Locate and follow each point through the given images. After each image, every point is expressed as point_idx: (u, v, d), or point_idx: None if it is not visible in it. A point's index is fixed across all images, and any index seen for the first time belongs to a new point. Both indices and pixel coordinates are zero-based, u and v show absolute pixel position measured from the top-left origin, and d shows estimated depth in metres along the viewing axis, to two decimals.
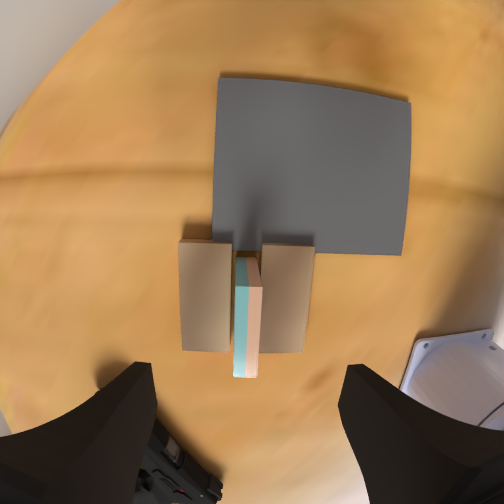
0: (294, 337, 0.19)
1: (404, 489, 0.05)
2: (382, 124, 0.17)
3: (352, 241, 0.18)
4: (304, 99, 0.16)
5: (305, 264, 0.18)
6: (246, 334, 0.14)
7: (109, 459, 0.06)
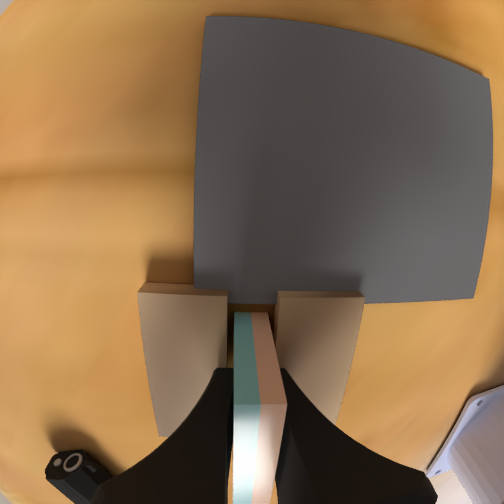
0: None
1: None
2: (458, 103, 0.09)
3: (415, 283, 0.11)
4: (348, 53, 0.09)
5: (348, 324, 0.10)
6: (254, 464, 0.07)
7: (226, 473, 0.06)
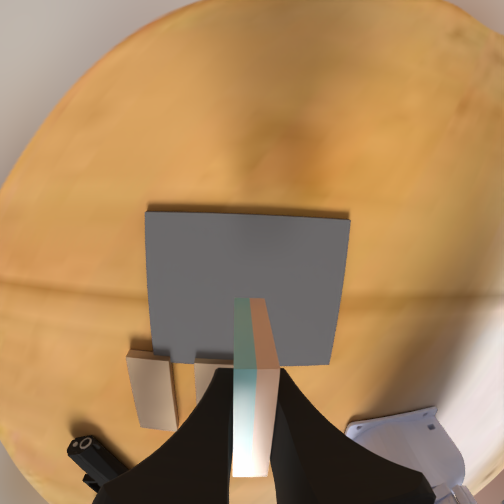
0: None
1: None
2: (313, 249, 0.18)
3: (278, 356, 0.20)
4: (229, 232, 0.18)
5: None
6: (252, 432, 0.08)
7: None
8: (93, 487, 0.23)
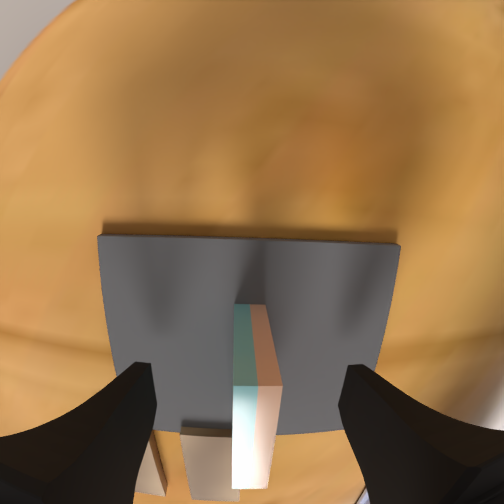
0: (228, 493, 0.14)
1: (404, 489, 0.05)
2: (347, 289, 0.12)
3: (291, 424, 0.14)
4: (222, 267, 0.11)
5: (231, 450, 0.13)
6: (252, 446, 0.08)
7: (109, 459, 0.06)
8: None
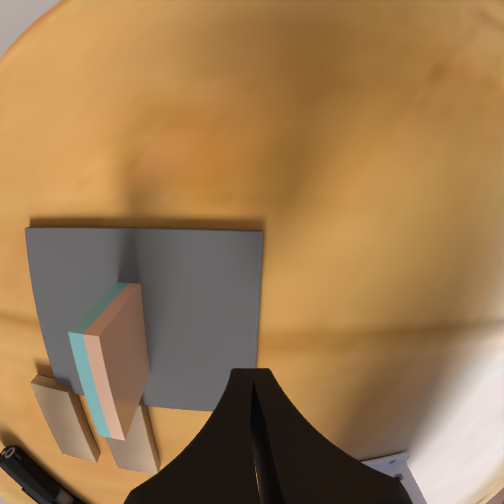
0: (145, 463, 0.16)
1: None
2: (211, 272, 0.14)
3: (185, 399, 0.15)
4: (106, 251, 0.13)
5: (135, 417, 0.15)
6: (96, 391, 0.09)
7: None
8: (33, 497, 0.18)
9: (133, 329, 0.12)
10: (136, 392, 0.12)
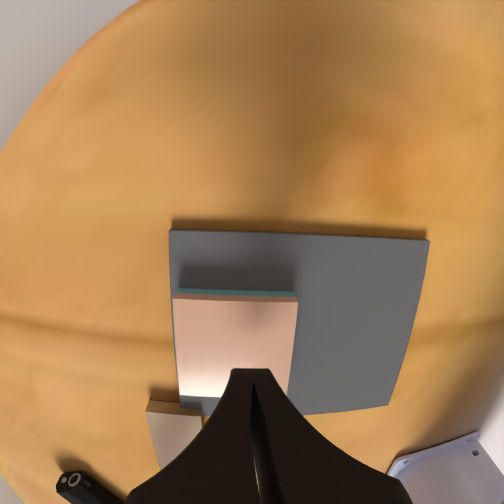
0: None
1: None
2: (387, 277, 0.14)
3: (333, 403, 0.15)
4: (286, 258, 0.13)
5: None
6: None
7: None
8: None
9: (255, 334, 0.13)
10: None
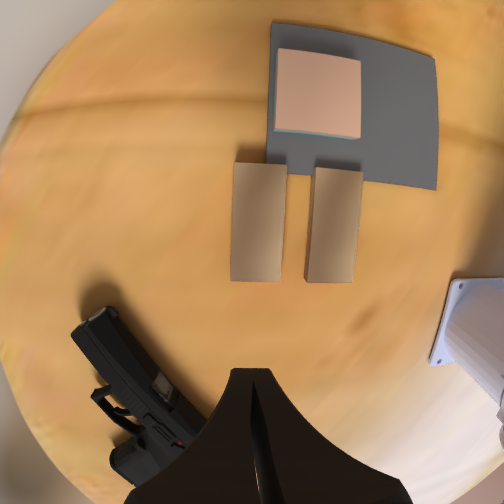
0: (344, 265, 0.19)
1: None
2: (412, 72, 0.16)
3: (393, 172, 0.18)
4: (347, 46, 0.16)
5: (355, 188, 0.18)
6: (275, 87, 0.16)
7: None
8: (105, 408, 0.21)
9: (335, 77, 0.15)
10: (318, 119, 0.16)
